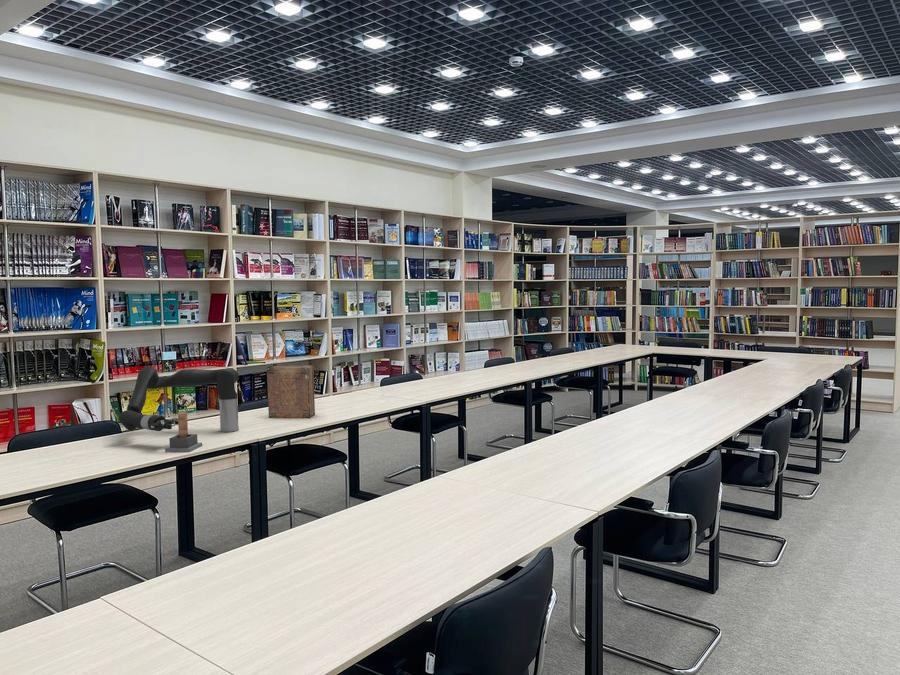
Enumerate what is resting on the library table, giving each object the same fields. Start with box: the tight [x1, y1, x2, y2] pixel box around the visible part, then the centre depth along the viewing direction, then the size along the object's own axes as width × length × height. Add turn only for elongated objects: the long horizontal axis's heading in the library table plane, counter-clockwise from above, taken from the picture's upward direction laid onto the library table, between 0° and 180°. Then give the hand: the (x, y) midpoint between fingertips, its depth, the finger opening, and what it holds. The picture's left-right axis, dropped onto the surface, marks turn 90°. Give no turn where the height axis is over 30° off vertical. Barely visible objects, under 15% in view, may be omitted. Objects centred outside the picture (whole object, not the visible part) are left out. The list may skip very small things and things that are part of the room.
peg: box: [177, 410, 189, 438], centre depth 302 cm, size 4×4×16 cm
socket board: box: [164, 433, 203, 453], centre depth 303 cm, size 12×12×6 cm
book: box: [266, 364, 316, 419], centre depth 377 cm, size 25×9×30 cm, turn 82°
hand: (178, 425), depth 303 cm, fingers open, 8 cm apart
